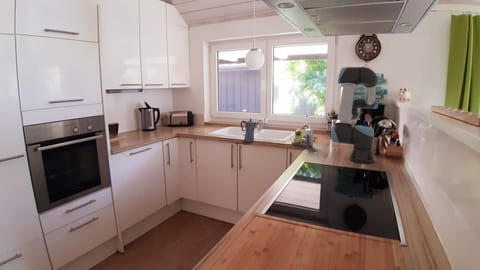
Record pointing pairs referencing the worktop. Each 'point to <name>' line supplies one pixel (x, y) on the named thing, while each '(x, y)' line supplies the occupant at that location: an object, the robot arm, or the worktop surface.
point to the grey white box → (309, 138)
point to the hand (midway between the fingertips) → (326, 118)
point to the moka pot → (249, 130)
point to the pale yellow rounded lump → (298, 138)
